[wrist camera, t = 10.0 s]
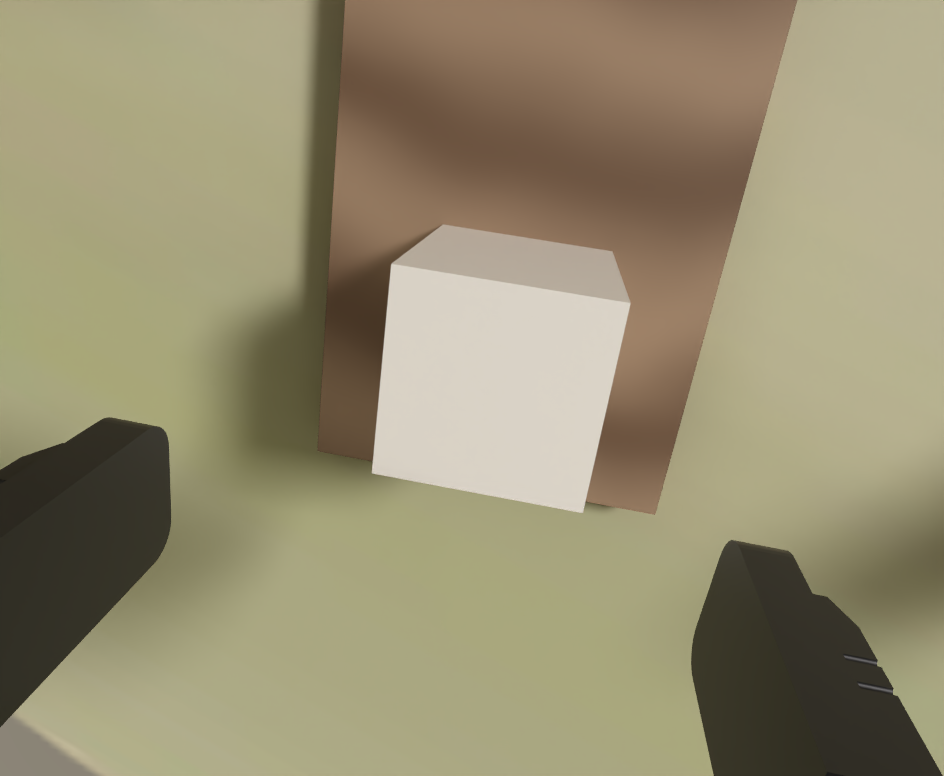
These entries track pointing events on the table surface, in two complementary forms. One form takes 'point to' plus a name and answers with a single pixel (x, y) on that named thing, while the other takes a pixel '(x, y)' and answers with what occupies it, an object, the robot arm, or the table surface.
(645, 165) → the board
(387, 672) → the table surface
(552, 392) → the white rectangular block
